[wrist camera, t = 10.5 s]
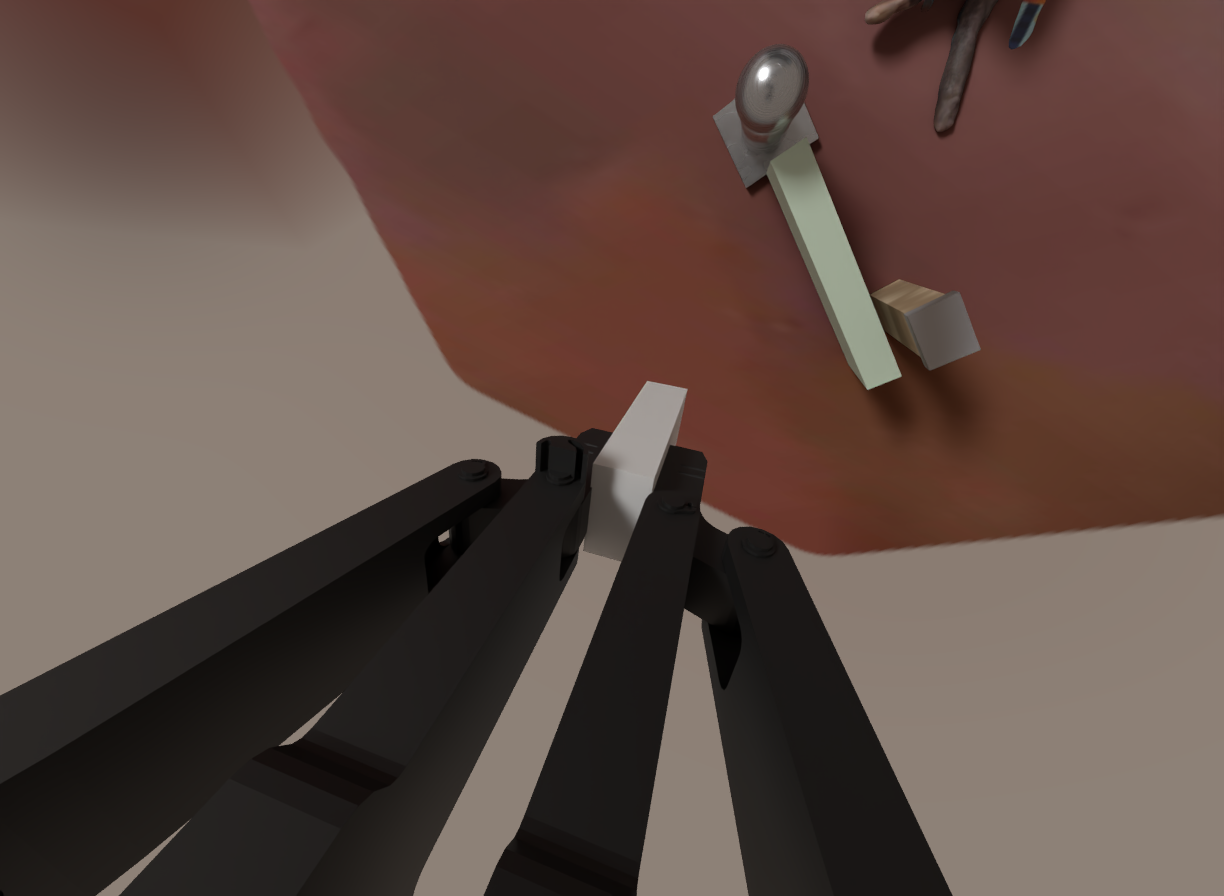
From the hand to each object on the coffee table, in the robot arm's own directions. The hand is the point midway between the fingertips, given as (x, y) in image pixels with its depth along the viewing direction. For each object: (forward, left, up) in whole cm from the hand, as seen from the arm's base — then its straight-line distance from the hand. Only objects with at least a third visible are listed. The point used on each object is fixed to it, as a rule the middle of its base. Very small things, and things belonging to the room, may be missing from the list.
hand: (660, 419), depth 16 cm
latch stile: (-12, +6, -22) cm, 26 cm away
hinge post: (-9, -9, -22) cm, 26 cm away
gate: (-9, +1, -21) cm, 23 cm away
